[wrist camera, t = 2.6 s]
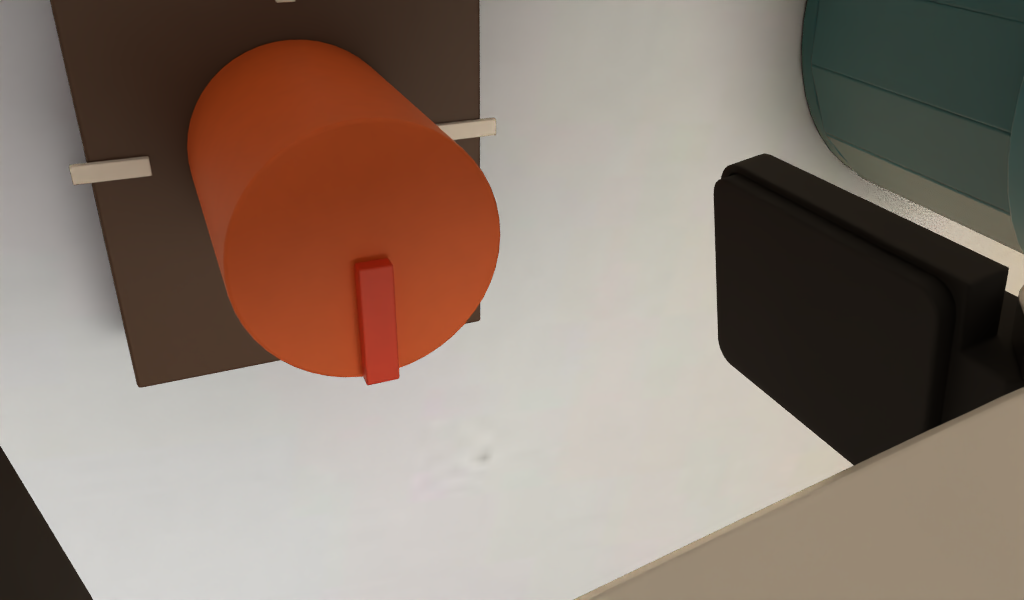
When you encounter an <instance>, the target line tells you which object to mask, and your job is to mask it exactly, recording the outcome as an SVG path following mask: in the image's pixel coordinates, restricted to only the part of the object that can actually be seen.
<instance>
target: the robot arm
mask: <svg viewBox="0 0 1024 600" xmlns="http://www.w3.org/2000/svg"><path fill="white" fill-rule="evenodd" d="M714 218H715V251H716V284H717V317H718V341H719V346H720V349H721V351H722V353H723V355H724V357H725V358H726V360H727V361H728V362H729V363H730V364H731V365H732V366H733V367H734V368H736V369H737V370H738V371H739V372H741V373H742V374H743V375H744V376H745V377H747V378H748V379H749V380H750V381H752V382H753V383H754V384H755V385H756V386H758V387H759V388H760V389H761V390H763V391H764V392H765V393H766V394H767V395H769V396H770V397H771V398H772V399H774V400H775V401H776V402H777V403H778V404H780V405H781V406H782V407H783V408H785V409H786V410H787V411H788V412H789V413H791V414H792V415H793V416H794V417H796V418H797V419H798V420H799V421H800V422H802V423H803V424H804V425H805V426H806V427H808V428H809V429H810V430H811V431H813V432H814V433H815V434H816V435H817V436H819V437H820V438H821V439H822V440H824V441H825V442H826V443H827V444H828V445H830V446H831V447H832V448H833V449H835V450H836V451H837V452H838V453H839V454H841V455H842V456H843V457H844V458H846V459H847V460H848V461H849V462H850V463H852V464H853V465H854V466H852V467H850V468H848V469H846V470H844V471H842V472H839V473H837V474H835V475H833V476H831V477H829V478H827V479H825V480H823V481H820V482H818V483H816V484H814V485H812V486H810V487H808V488H806V489H804V490H801V491H799V492H797V493H795V494H793V495H791V496H789V497H787V498H785V499H782V500H780V501H778V502H776V503H774V504H772V505H770V506H768V507H765V508H763V509H761V510H759V511H757V512H755V513H753V514H751V515H749V516H747V517H745V518H742V519H740V520H738V521H736V522H734V523H732V524H730V525H728V526H726V527H724V528H722V529H720V530H717V531H715V532H713V533H711V534H709V535H707V536H705V537H703V538H701V539H699V540H697V541H695V542H692V543H690V544H688V545H686V546H684V547H682V548H680V549H678V550H676V551H674V552H672V553H669V554H667V555H665V556H663V557H661V558H659V559H657V560H655V561H653V562H651V563H649V564H647V565H644V566H642V567H640V568H638V569H636V570H634V571H632V572H630V573H628V574H626V575H624V576H622V577H620V578H617V579H615V580H613V581H611V582H609V583H607V584H605V585H603V586H601V587H599V588H597V589H595V590H593V591H590V592H588V593H586V594H584V595H582V596H580V597H578V598H576V599H574V600H1024V285H1023V287H1022V288H1021V289H1020V291H1019V296H1018V297H1017V296H1015V295H1013V294H1011V293H1009V292H1007V291H1005V287H1006V282H1007V276H1008V270H1009V268H1008V267H1006V266H1004V265H1002V264H1000V263H997V262H995V261H993V260H991V259H989V258H987V257H985V256H983V255H981V254H978V253H976V252H974V251H972V250H970V249H968V248H966V247H964V246H962V245H960V244H957V243H955V242H953V241H951V240H949V239H947V238H945V237H943V236H941V235H938V234H936V233H934V232H932V231H930V230H928V229H926V228H924V227H922V226H919V225H917V224H915V223H913V222H911V221H909V220H907V219H905V218H903V217H900V216H898V215H896V214H894V213H892V212H890V211H888V210H886V209H884V208H881V207H879V206H877V205H875V204H873V203H871V202H869V201H867V200H865V199H862V198H860V197H858V196H856V195H854V194H852V193H850V192H848V191H846V190H843V189H841V188H839V187H837V186H835V185H833V184H831V183H829V182H827V181H825V180H822V179H820V178H818V177H816V176H814V175H812V174H810V173H808V172H806V171H803V170H801V169H799V168H797V167H795V166H793V165H791V164H789V163H787V162H784V161H782V160H780V159H778V158H776V157H774V156H772V155H769V154H761V155H758V156H755V157H752V158H749V159H746V160H743V161H740V162H738V163H735V164H732V165H729V166H727V167H726V168H725V169H724V171H723V173H722V176H721V179H720V180H718V181H717V182H716V184H715V187H714ZM0 600H93V599H92V597H91V595H90V594H89V592H88V590H87V589H86V587H85V585H84V584H83V582H82V580H81V579H80V577H79V575H78V574H77V572H76V570H75V569H74V567H73V565H72V564H71V562H70V560H69V559H68V557H67V555H66V554H65V552H64V551H63V549H62V547H61V546H60V544H59V542H58V541H57V539H56V537H55V536H54V534H53V532H52V531H51V529H50V527H49V526H48V524H47V522H46V521H45V519H44V517H43V516H42V514H41V512H40V511H39V509H38V508H37V506H36V504H35V503H34V501H33V499H32V498H31V496H30V494H29V493H28V491H27V489H26V488H25V486H24V484H23V483H22V481H21V479H20V478H19V476H18V474H17V473H16V471H15V469H14V468H13V466H12V465H11V463H10V461H9V460H8V458H7V456H6V455H5V453H4V451H3V450H2V448H1V446H0Z"/></svg>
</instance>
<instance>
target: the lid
mask: <svg viewBox="0 0 1024 600" xmlns="http://www.w3.org/2000/svg"><path fill="white" fill-rule="evenodd" d="M1008 199H1009V207H1010V215H1011V221H1012V224H1013V228H1014V231H1015V234H1016V238H1017V241H1018V244H1019V246H1020V248H1021V250H1022V251H1023V253H1024V77H1023V81H1022V84H1021V87H1020V91H1019V96H1018V100H1017V105H1016V109H1015V114H1014V119H1013V123H1012V129H1011V138H1010V146H1009V155H1008Z"/></svg>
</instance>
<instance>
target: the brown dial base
mask: <svg viewBox="0 0 1024 600" xmlns="http://www.w3.org/2000/svg"><path fill="white" fill-rule="evenodd" d="M50 3H51V7H52V11H53V16H54V20H55V25H56V29H57V33H58V38H59V42H60V47H61V51H62V55H63V60H64V64H65V69H66V73H67V78H68V82H69V86H70V91H71V95H72V100H73V104H74V108H75V113H76V117H77V122H78V126H79V131H80V135H81V139H82V144H83V148H84V153H85V157H86V161H87V163H81V164H72V165H69V169H70V173H71V177H72V182H73V185H78V184H86V183H91V184H92V188H93V192H94V197H95V201H96V206H97V210H98V214H99V219H100V223H101V228H102V232H103V237H104V241H105V245H106V250H107V254H108V259H109V263H110V267H111V272H112V276H113V281H114V285H115V290H116V294H117V298H118V303H119V307H120V312H121V316H122V320H123V325H124V329H125V334H126V338H127V342H128V347H129V351H130V356H131V360H132V365H133V369H134V373H135V378H136V382H137V385H138V387H147V386H152V385H157V384H162V383H167V382H172V381H177V380H182V379H187V378H192V377H197V376H202V375H207V374H212V373H218V372H223V371H228V370H233V369H238V368H243V367H248V366H253V365H258V364H263V363H268V362H273V361H278V360H280V359H278V358H277V357H275V356H274V355H272V354H271V353H269V352H268V351H266V350H265V349H264V348H263V347H262V346H261V345H260V344H259V343H257V342H256V341H255V340H254V339H253V338H252V336H251V335H250V334H249V333H248V332H247V330H246V329H245V328H244V327H243V325H242V324H241V322H240V320H239V319H238V317H237V315H236V314H235V312H234V310H233V307H232V305H231V302H230V300H229V297H228V295H227V291H226V288H225V285H224V281H223V278H222V275H221V271H220V268H219V265H218V261H217V258H216V255H215V251H214V248H213V245H212V241H211V238H210V235H209V231H208V228H207V225H206V221H205V218H204V215H203V212H202V208H201V205H200V202H199V198H198V195H197V192H196V188H195V185H194V182H193V178H192V175H191V171H190V166H189V162H188V152H187V140H188V130H189V125H190V120H191V117H192V114H193V111H194V108H195V105H196V103H197V101H198V99H199V98H200V96H201V94H202V92H203V91H204V89H205V88H206V86H207V85H208V83H209V82H210V81H211V79H212V78H213V77H214V76H215V75H216V74H217V73H218V72H219V71H220V70H221V69H222V68H223V67H225V66H226V65H227V64H228V63H230V62H231V61H232V60H233V59H235V58H237V57H238V56H240V55H242V54H243V53H245V52H247V51H249V50H252V49H254V48H256V47H259V46H262V45H265V44H269V43H272V42H277V41H284V40H311V41H319V42H323V43H327V44H331V45H334V46H337V47H339V48H341V49H344V50H346V51H348V52H350V53H352V54H353V55H355V56H357V57H359V58H360V59H361V60H363V61H364V62H365V63H367V64H368V65H369V66H370V67H372V68H373V69H374V70H375V71H376V72H377V73H378V74H379V75H381V76H382V77H383V78H384V79H385V80H386V81H387V82H388V83H390V84H391V85H392V86H393V87H394V88H395V89H396V90H397V91H399V92H400V93H401V94H402V95H403V96H404V97H405V98H406V99H408V100H409V101H410V102H411V103H412V104H413V105H414V106H415V107H417V108H418V109H419V110H420V111H421V112H422V113H423V114H424V115H426V116H427V117H428V118H429V119H430V120H431V121H432V122H433V123H435V124H436V125H437V126H438V127H439V128H440V129H441V130H442V131H444V132H445V133H446V134H447V135H448V136H449V137H450V138H451V139H453V140H454V141H455V142H456V143H457V144H458V145H459V146H460V147H462V148H463V149H464V150H465V151H466V152H467V153H468V155H469V156H470V157H471V158H472V159H473V160H474V161H475V162H476V164H477V165H478V166H479V168H480V137H482V136H490V135H496V119H495V118H485V119H480V26H479V0H50ZM479 320H480V304H479V305H478V307H477V308H476V310H475V311H474V313H473V314H472V315H471V316H470V318H469V319H468V320H467V321H466V323H471V322H476V321H479ZM466 323H465V324H466Z"/></svg>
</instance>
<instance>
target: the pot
mask: <svg viewBox="0 0 1024 600" xmlns="http://www.w3.org/2000/svg"><path fill="white" fill-rule="evenodd" d="M802 73H803V80H804V87H805V94H806V98H807V101H808V105H809V108H810V112H811V115H812V118H813V120H814V122H815V125H816V127H817V129H818V131H819V133H820V135H821V137H822V138H823V140H824V141H825V143H826V144H827V146H828V147H829V149H830V150H831V151H832V152H833V153H834V154H835V155H836V156H837V157H838V158H839V159H840V160H841V162H842V163H844V164H845V165H847V166H848V167H849V168H851V169H852V170H854V171H855V172H856V173H857V174H858V176H860V177H861V178H863V179H865V180H868V181H870V182H872V183H874V184H876V185H878V186H880V187H882V188H885V189H887V190H889V191H891V192H893V193H895V194H897V195H899V196H901V197H904V198H906V199H908V200H910V201H912V202H914V203H916V204H918V205H921V206H923V207H925V208H927V209H929V210H931V211H933V212H935V213H938V214H940V215H942V216H944V217H946V218H948V219H950V220H952V221H955V222H957V223H959V224H961V225H963V226H965V227H967V228H969V229H971V230H974V231H976V232H978V233H980V234H982V235H984V236H986V237H988V238H991V239H993V240H995V241H997V242H999V243H1001V244H1003V245H1005V246H1008V247H1010V248H1012V249H1014V250H1016V251H1018V252H1020V253H1022V254H1024V253H1023V251H1022V250H1021V248H1020V246H1019V244H1018V241H1017V238H1016V234H1015V231H1014V228H1013V224H1012V221H1011V215H1010V207H1009V199H1008V155H1009V146H1010V138H1011V129H1012V123H1013V119H1014V114H1015V109H1016V105H1017V100H1018V96H1019V91H1020V87H1021V84H1022V81H1023V77H1024V0H807V5H806V10H805V16H804V24H803V36H802Z"/></svg>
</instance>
